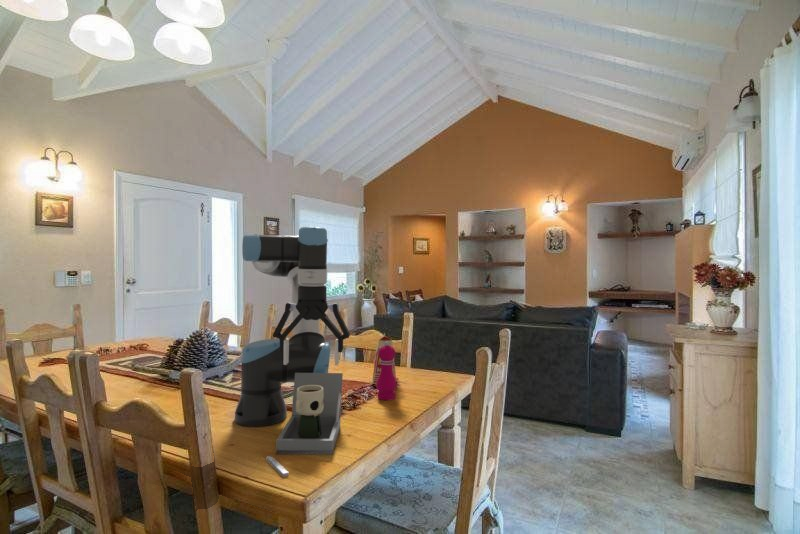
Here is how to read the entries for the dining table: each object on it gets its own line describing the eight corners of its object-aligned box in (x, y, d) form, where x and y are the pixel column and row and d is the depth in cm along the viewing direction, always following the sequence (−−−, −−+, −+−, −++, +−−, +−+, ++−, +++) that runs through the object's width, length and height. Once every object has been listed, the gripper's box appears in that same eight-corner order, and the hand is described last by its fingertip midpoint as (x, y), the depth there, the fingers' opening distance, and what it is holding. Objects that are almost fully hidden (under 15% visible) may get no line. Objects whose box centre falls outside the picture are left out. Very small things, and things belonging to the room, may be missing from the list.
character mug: (307, 446, 111) (307, 396, 111) (285, 440, 114) (286, 391, 114) (332, 431, 121) (333, 385, 120) (312, 426, 124) (312, 381, 124)
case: (276, 454, 109) (276, 394, 109) (295, 421, 130) (295, 372, 130) (332, 454, 109) (333, 395, 109) (342, 422, 131) (342, 372, 130)
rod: (288, 477, 99) (288, 472, 99) (283, 479, 98) (283, 473, 98) (271, 460, 106) (271, 455, 106) (266, 462, 106) (266, 457, 106)
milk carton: (395, 385, 168) (396, 334, 168) (371, 385, 169) (372, 333, 168) (396, 379, 178) (396, 330, 177) (373, 378, 178) (374, 329, 177)
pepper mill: (394, 401, 150) (394, 343, 149) (373, 400, 151) (374, 342, 151) (398, 395, 157) (399, 339, 156) (378, 393, 158) (379, 338, 158)
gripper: (261, 285, 113) (260, 366, 113) (358, 286, 113) (356, 367, 114) (269, 283, 120) (268, 359, 121) (360, 284, 121) (359, 361, 121)
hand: (311, 364), depth 117 cm, fingers open, 13 cm apart
